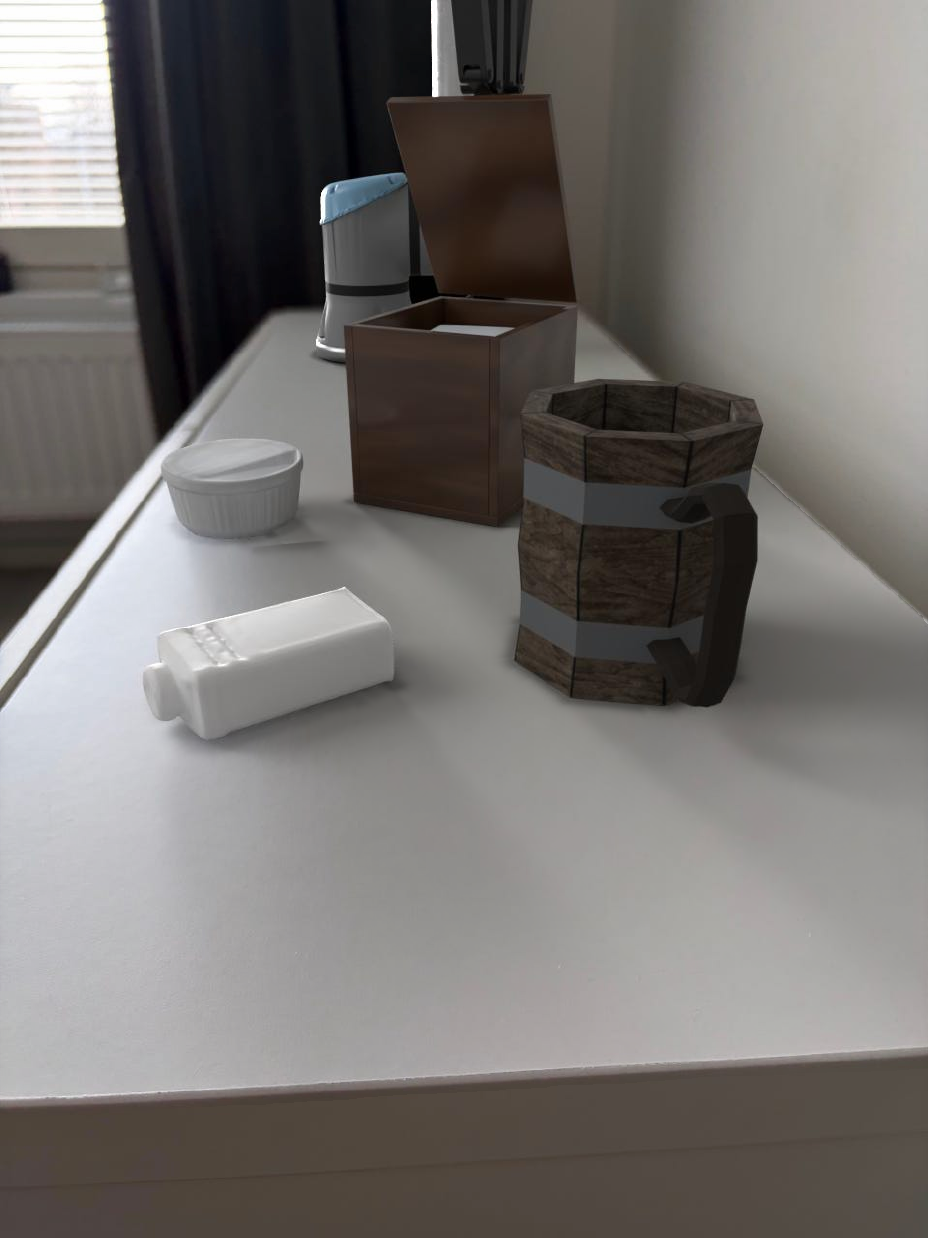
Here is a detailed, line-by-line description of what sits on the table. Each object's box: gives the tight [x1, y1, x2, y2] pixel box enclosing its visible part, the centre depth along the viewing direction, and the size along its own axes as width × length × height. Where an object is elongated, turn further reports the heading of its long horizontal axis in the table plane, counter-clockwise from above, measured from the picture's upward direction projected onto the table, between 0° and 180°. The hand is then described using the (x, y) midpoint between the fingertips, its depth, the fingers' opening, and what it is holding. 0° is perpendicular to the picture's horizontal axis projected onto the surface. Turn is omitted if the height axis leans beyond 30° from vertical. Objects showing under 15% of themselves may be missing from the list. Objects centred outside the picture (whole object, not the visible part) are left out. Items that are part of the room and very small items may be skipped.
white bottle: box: [142, 586, 395, 741], centre depth 53 cm, size 6×13×4 cm, turn 123°
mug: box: [513, 378, 764, 708], centre depth 53 cm, size 20×14×15 cm
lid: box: [386, 93, 581, 303], centre depth 80 cm, size 18×14×1 cm
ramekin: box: [160, 438, 304, 540], centre depth 78 cm, size 11×11×5 cm
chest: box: [344, 295, 579, 527], centre depth 83 cm, size 17×14×15 cm
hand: (491, 184), depth 79 cm, fingers closed
